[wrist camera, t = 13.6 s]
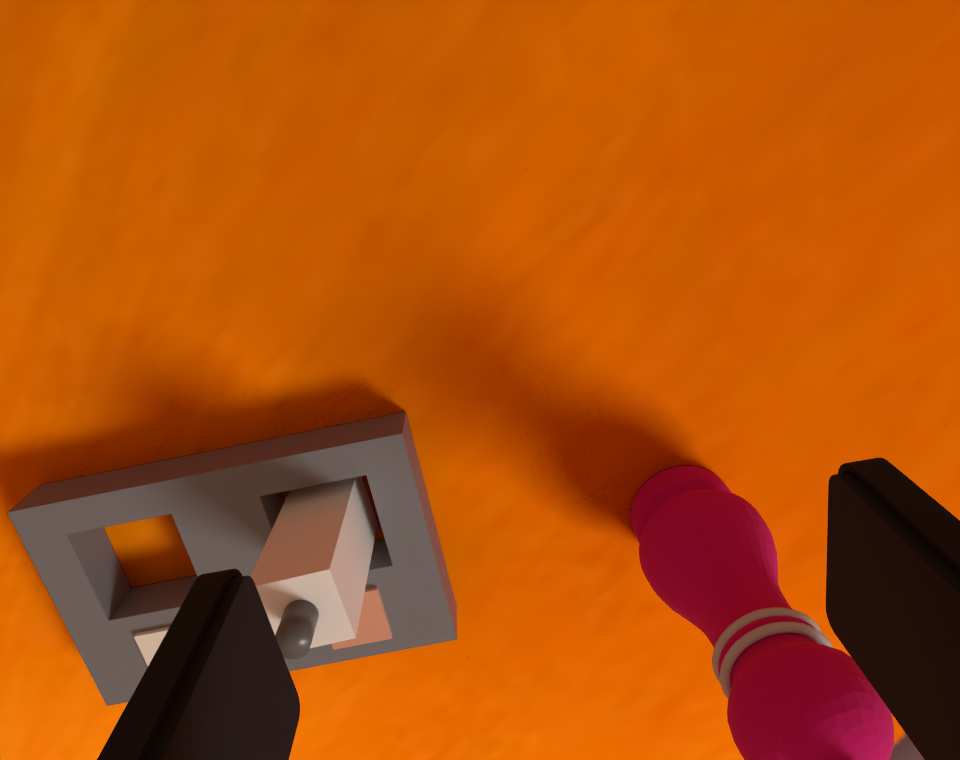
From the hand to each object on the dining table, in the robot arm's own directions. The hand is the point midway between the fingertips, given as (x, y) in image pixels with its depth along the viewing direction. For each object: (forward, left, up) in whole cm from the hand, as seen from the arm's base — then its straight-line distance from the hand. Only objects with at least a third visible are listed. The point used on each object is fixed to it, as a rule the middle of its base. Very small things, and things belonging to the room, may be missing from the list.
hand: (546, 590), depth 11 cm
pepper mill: (+17, +9, -27) cm, 33 cm away
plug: (+12, -11, -27) cm, 32 cm away
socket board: (+14, -17, -27) cm, 35 cm away
